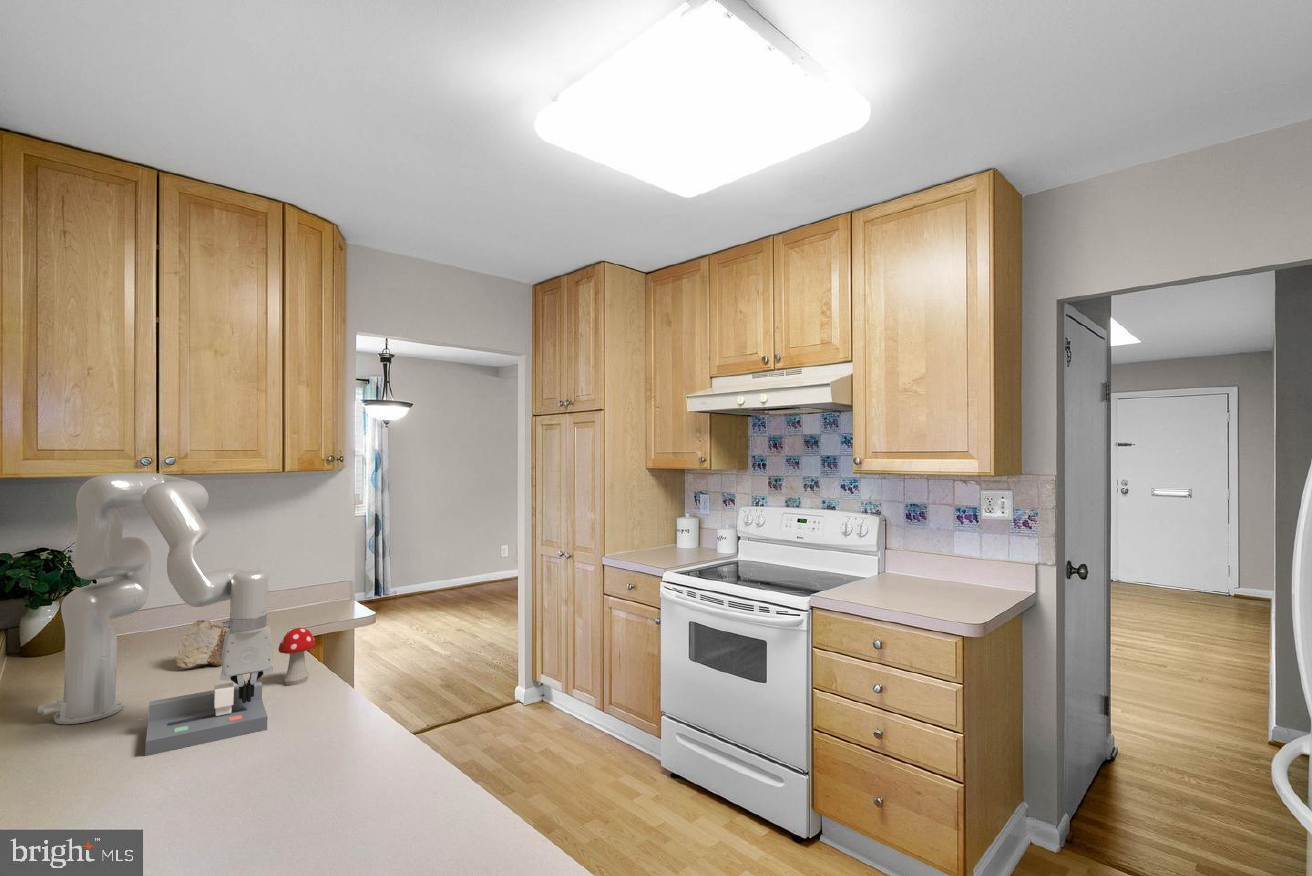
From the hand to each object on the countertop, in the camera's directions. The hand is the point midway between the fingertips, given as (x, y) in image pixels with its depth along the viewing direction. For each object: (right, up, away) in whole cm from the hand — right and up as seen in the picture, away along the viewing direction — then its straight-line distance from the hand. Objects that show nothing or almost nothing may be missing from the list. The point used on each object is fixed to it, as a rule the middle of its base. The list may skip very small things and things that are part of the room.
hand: (246, 700), depth 150 cm
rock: (-39, -7, +41) cm, 57 cm away
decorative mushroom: (-4, -6, +27) cm, 28 cm away
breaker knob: (-4, -2, -3) cm, 5 cm away
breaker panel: (-6, -5, -5) cm, 9 cm away
